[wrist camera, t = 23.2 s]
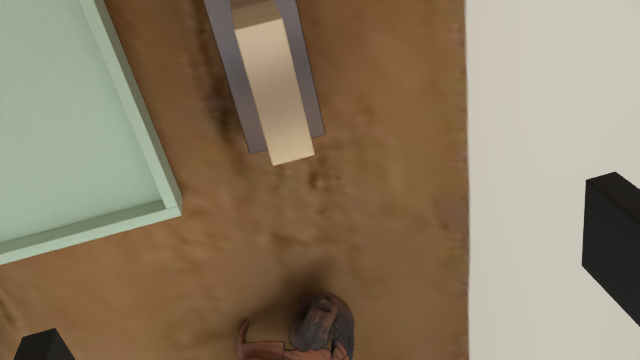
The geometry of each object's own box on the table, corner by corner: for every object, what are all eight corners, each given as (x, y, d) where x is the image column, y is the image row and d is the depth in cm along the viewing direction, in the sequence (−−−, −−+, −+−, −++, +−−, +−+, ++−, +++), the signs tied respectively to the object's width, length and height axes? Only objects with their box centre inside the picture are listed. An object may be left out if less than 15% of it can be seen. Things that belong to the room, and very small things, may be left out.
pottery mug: (349, 359, 51) (319, 442, 45) (256, 318, 52) (214, 394, 46) (386, 280, 43) (356, 369, 37) (275, 234, 44) (229, 312, 38)
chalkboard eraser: (190, -52, 32) (184, -22, 23) (274, -72, 32) (301, -51, 23) (246, 132, 38) (258, 214, 29) (316, 114, 38) (350, 189, 29)
